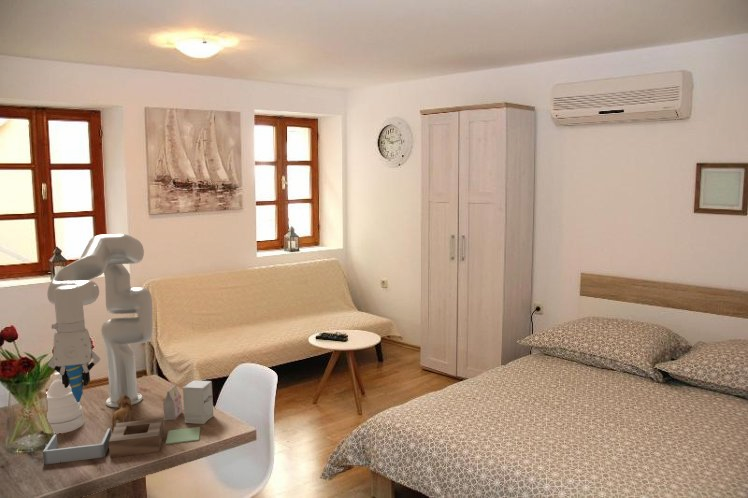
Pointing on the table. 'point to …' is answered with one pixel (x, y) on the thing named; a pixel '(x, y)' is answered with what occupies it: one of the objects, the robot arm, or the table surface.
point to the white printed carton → (172, 404)
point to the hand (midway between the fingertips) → (76, 384)
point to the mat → (183, 435)
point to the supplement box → (198, 402)
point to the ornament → (76, 380)
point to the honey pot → (63, 407)
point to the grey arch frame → (75, 451)
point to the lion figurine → (122, 411)
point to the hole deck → (136, 437)
